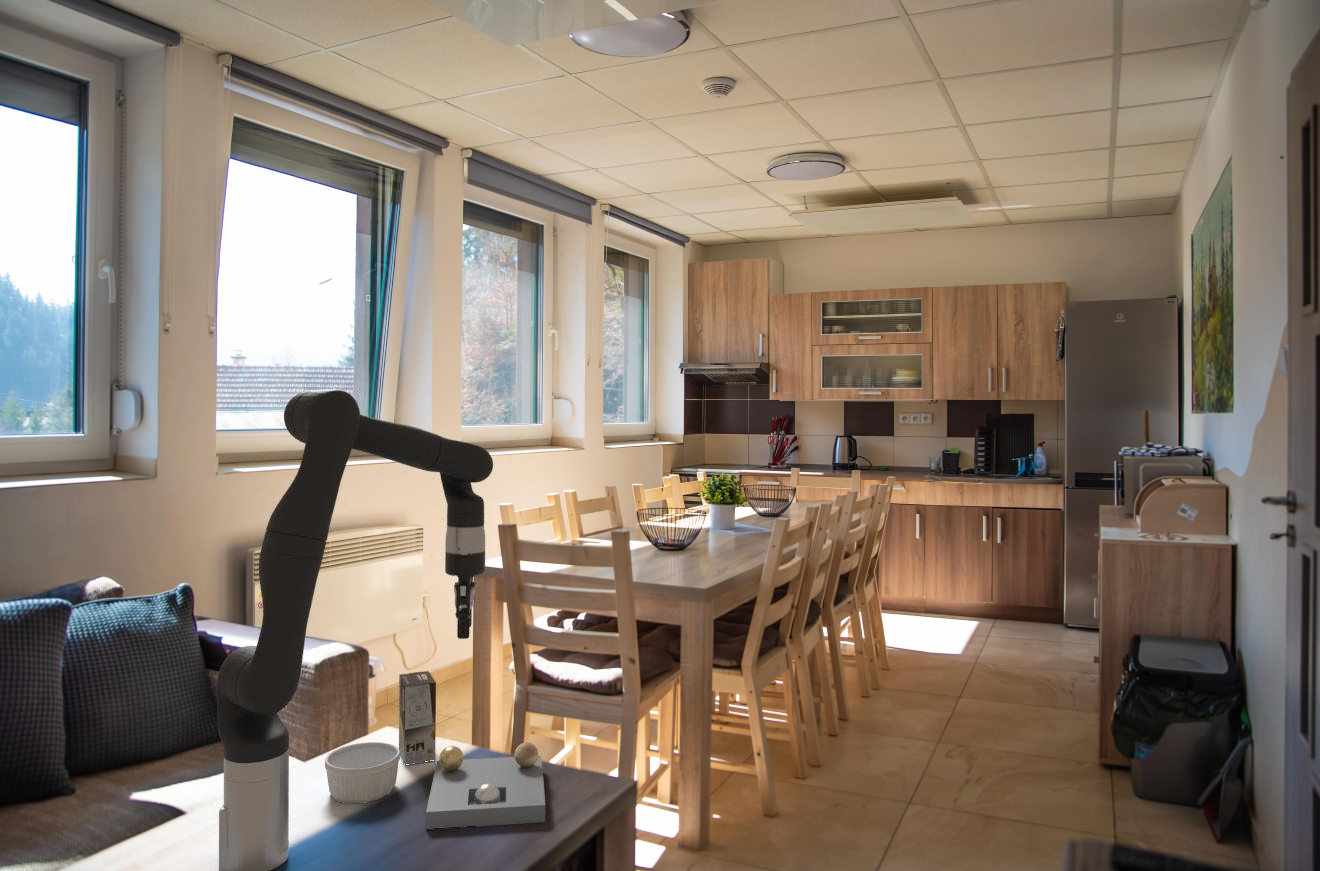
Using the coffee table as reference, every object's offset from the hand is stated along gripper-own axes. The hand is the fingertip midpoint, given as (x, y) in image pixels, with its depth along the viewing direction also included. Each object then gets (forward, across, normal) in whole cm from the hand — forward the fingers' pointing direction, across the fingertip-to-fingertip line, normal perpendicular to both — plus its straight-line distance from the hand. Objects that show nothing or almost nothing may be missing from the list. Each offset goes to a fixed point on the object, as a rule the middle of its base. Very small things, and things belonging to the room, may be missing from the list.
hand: (464, 632), depth 167 cm
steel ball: (+25, +16, +5) cm, 30 cm away
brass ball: (+23, +4, -2) cm, 23 cm away
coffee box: (+28, -12, -10) cm, 32 cm away
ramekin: (+28, +4, -18) cm, 34 cm away
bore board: (+28, +10, +5) cm, 30 cm away
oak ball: (+23, +4, +12) cm, 26 cm away
